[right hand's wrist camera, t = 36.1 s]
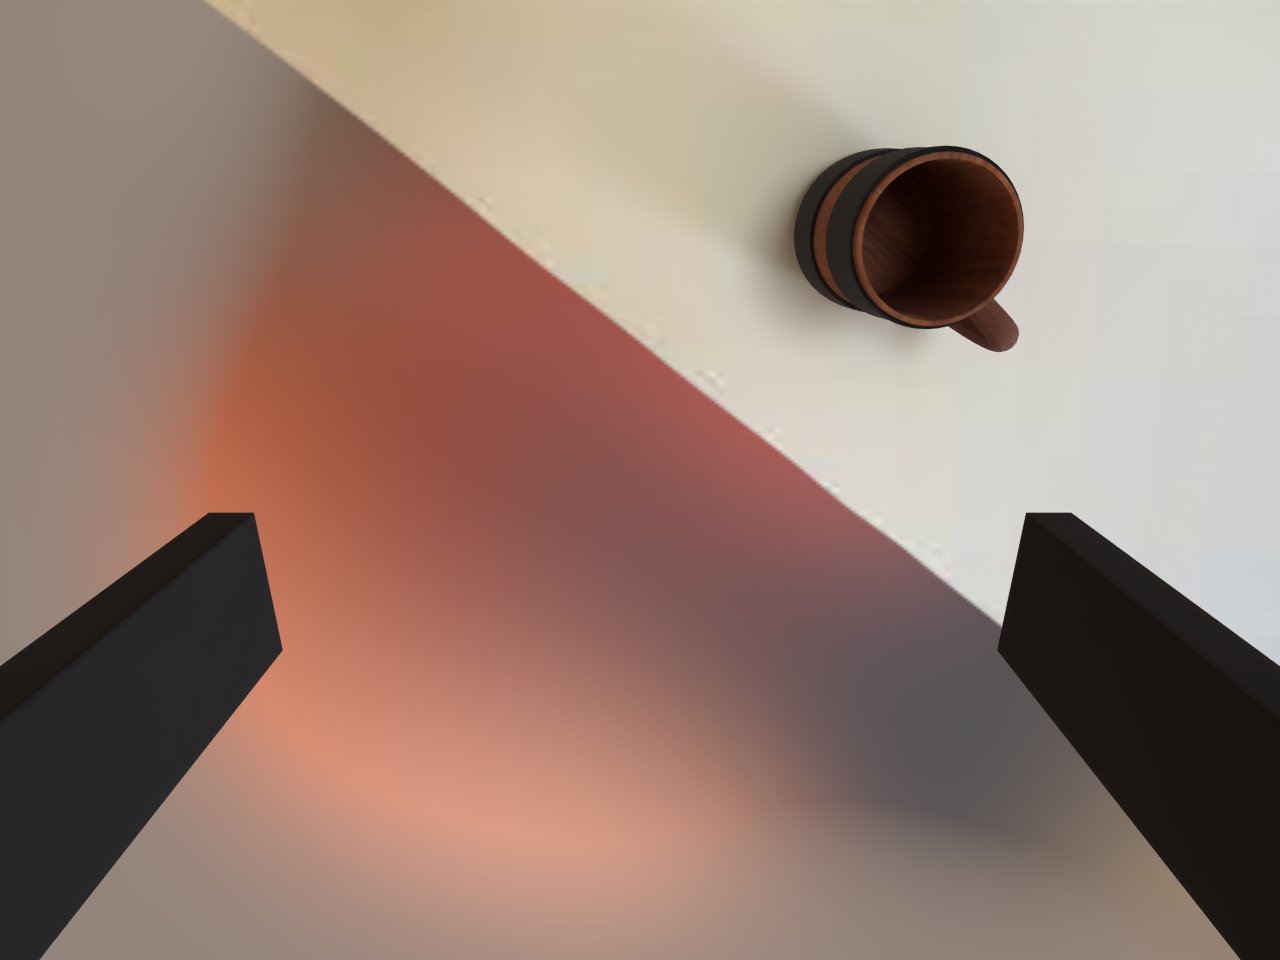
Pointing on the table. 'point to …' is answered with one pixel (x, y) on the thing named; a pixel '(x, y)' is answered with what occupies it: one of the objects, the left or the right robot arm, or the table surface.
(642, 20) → the table surface
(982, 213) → the mug
